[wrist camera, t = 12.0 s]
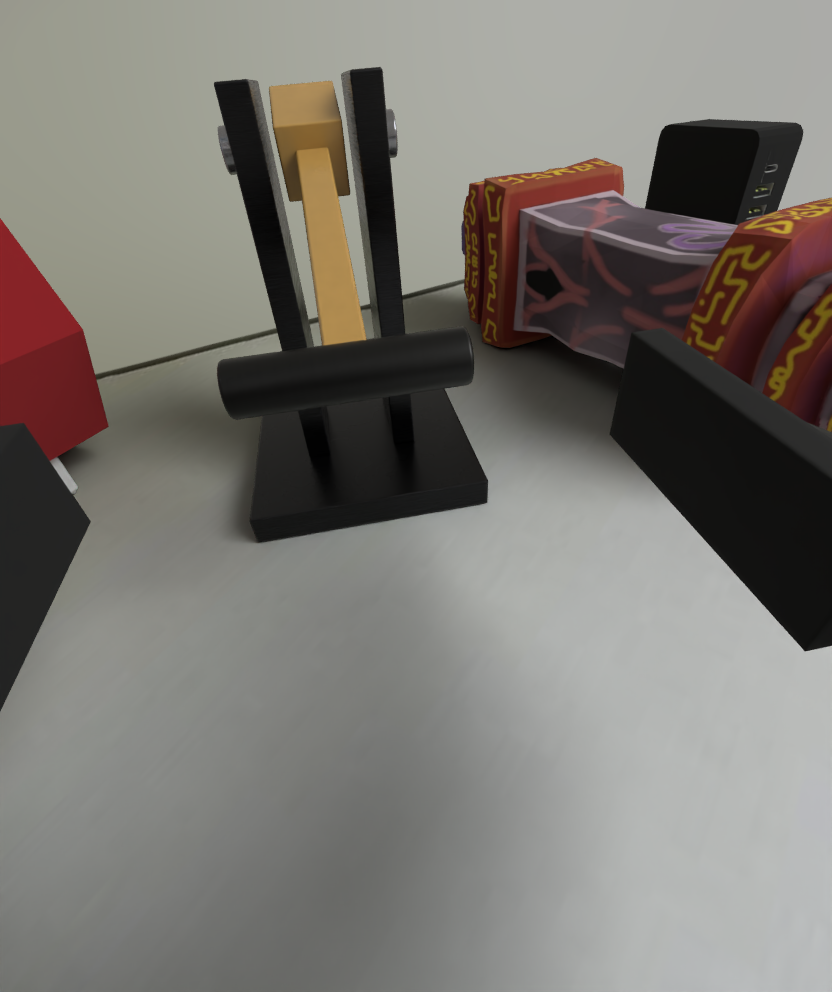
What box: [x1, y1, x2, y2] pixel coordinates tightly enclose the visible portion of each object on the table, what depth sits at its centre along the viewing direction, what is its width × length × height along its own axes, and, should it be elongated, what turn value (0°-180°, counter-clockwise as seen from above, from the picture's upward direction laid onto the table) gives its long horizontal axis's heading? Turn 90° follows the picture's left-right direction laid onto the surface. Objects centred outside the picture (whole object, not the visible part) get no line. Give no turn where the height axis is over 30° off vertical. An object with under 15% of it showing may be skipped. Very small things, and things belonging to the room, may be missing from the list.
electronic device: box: [645, 119, 803, 225], centre depth 42 cm, size 4×10×10 cm, turn 20°
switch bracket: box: [214, 67, 488, 542], centre depth 21 cm, size 12×10×15 cm
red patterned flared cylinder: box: [462, 158, 832, 432], centre depth 28 cm, size 10×9×30 cm
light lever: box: [217, 81, 474, 420], centre depth 15 cm, size 13×6×2 cm, turn 10°
